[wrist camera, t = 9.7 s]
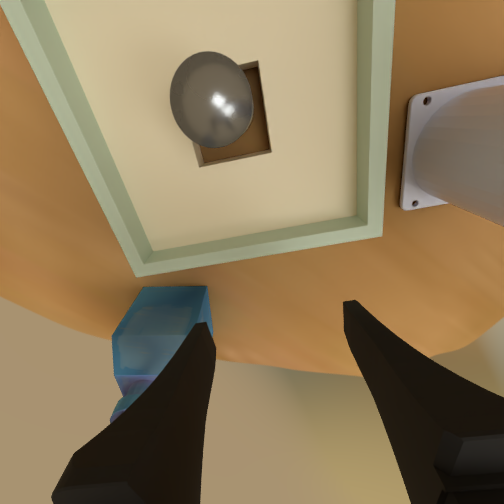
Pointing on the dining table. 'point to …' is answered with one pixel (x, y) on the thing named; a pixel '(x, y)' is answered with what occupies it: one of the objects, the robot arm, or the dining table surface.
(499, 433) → the robot arm
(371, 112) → the box
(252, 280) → the dining table surface
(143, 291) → the perfume bottle
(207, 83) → the peg
